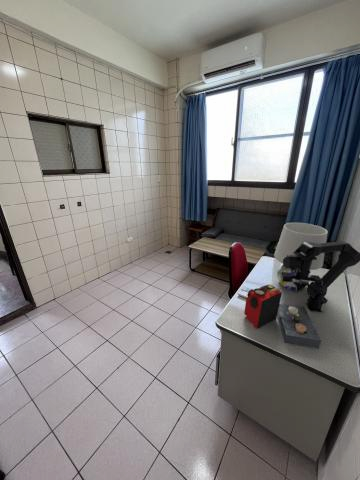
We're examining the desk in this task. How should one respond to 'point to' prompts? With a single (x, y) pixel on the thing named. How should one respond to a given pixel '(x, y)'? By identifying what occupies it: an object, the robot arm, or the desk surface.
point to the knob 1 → (292, 310)
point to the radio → (262, 305)
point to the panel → (288, 327)
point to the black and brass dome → (296, 317)
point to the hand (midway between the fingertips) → (297, 291)
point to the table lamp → (292, 240)
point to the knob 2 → (300, 328)
